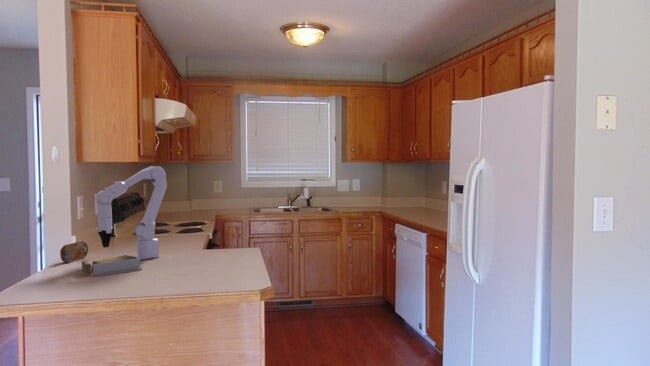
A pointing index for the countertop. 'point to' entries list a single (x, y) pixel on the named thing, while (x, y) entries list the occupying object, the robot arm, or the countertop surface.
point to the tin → (74, 251)
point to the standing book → (86, 267)
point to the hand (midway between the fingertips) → (105, 247)
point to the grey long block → (116, 267)
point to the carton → (114, 259)
